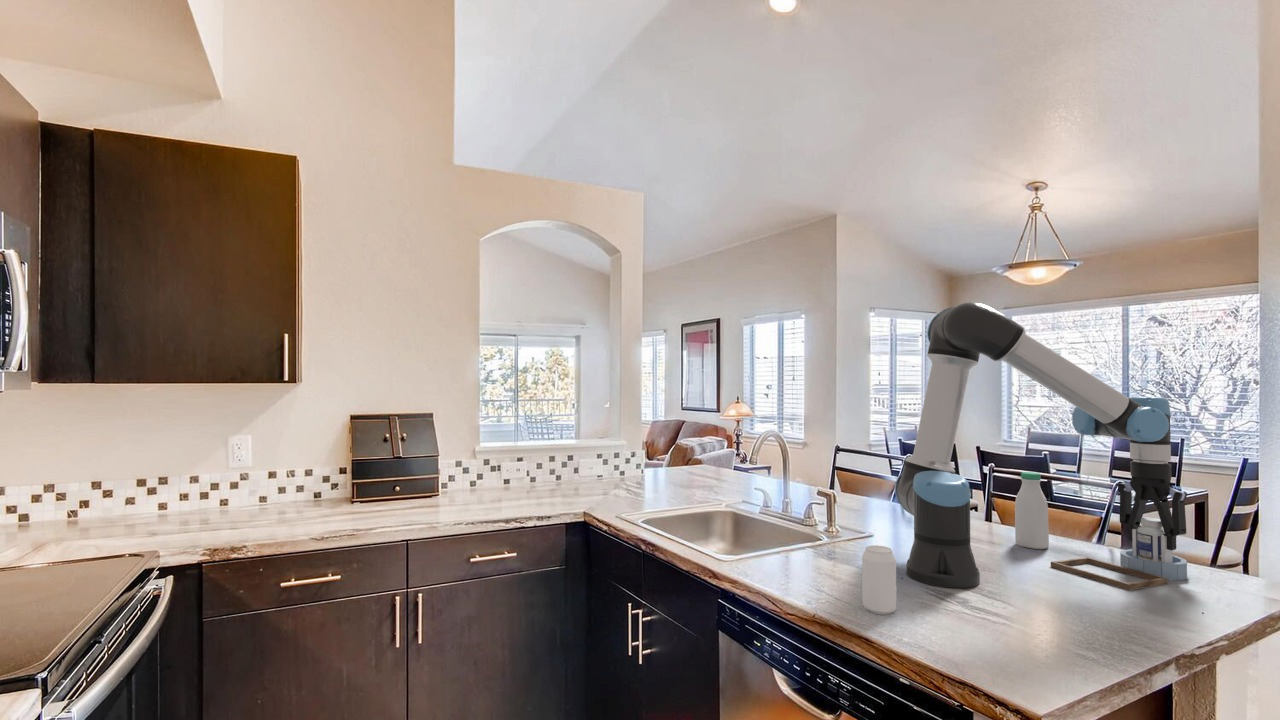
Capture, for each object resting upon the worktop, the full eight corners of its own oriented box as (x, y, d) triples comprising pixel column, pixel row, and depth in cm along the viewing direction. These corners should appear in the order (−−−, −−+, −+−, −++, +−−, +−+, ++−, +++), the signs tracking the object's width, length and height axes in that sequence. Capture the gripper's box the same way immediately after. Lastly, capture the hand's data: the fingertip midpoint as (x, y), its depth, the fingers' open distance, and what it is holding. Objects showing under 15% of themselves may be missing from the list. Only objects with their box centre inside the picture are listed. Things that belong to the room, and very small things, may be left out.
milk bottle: (1054, 550, 163) (1052, 475, 164) (1022, 549, 165) (1020, 474, 165) (1041, 543, 171) (1040, 471, 171) (1010, 541, 172) (1009, 470, 173)
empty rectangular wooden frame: (1129, 590, 132) (1129, 584, 132) (1050, 566, 149) (1050, 561, 149) (1167, 583, 137) (1167, 578, 137) (1086, 561, 153) (1086, 556, 153)
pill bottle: (1162, 559, 147) (1162, 518, 147) (1170, 565, 142) (1170, 522, 142) (1134, 556, 149) (1134, 515, 149) (1141, 562, 144) (1141, 520, 144)
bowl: (1165, 582, 138) (1165, 566, 138) (1109, 567, 149) (1108, 552, 149) (1199, 576, 142) (1199, 561, 142) (1141, 562, 153) (1141, 547, 153)
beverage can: (894, 618, 116) (893, 554, 116) (860, 612, 119) (859, 550, 119) (898, 608, 121) (897, 547, 122) (865, 602, 124) (864, 542, 125)
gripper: (1206, 465, 139) (1209, 569, 138) (1119, 456, 156) (1121, 548, 155) (1185, 467, 136) (1187, 572, 135) (1099, 457, 154) (1101, 550, 153)
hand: (1152, 559), depth 145 cm, fingers closed on pill bottle, 5 cm apart
